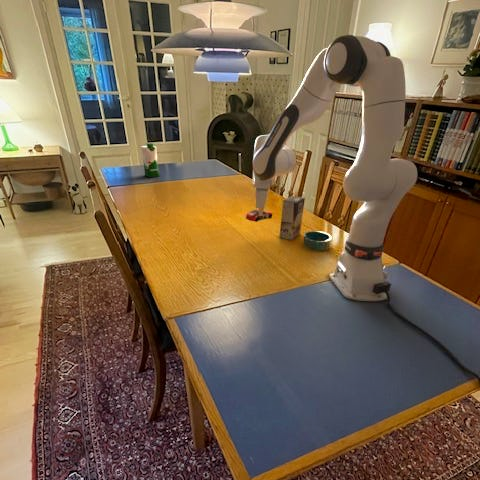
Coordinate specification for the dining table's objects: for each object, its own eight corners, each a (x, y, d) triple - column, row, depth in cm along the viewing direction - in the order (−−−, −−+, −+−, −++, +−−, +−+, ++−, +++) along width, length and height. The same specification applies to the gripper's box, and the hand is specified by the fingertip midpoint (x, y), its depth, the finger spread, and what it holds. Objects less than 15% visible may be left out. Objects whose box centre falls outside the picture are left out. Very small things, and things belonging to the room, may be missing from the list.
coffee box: (292, 240, 149) (296, 203, 139) (279, 237, 151) (282, 200, 142) (300, 233, 155) (305, 197, 146) (287, 230, 158) (291, 195, 148)
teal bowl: (331, 252, 140) (333, 242, 137) (304, 251, 140) (305, 241, 137) (326, 241, 149) (328, 231, 146) (301, 240, 149) (302, 230, 146)
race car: (266, 215, 155) (267, 206, 153) (274, 218, 151) (275, 209, 149) (243, 219, 148) (244, 210, 146) (251, 223, 144) (252, 213, 142)
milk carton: (149, 177, 228) (145, 144, 216) (143, 175, 233) (138, 142, 222) (161, 176, 232) (157, 143, 221) (154, 173, 238) (151, 141, 226)
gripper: (257, 172, 148) (256, 204, 156) (253, 184, 131) (251, 220, 140) (272, 173, 147) (269, 205, 156) (269, 185, 131) (267, 221, 139)
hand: (261, 212), depth 147 cm, fingers closed on race car, 6 cm apart
